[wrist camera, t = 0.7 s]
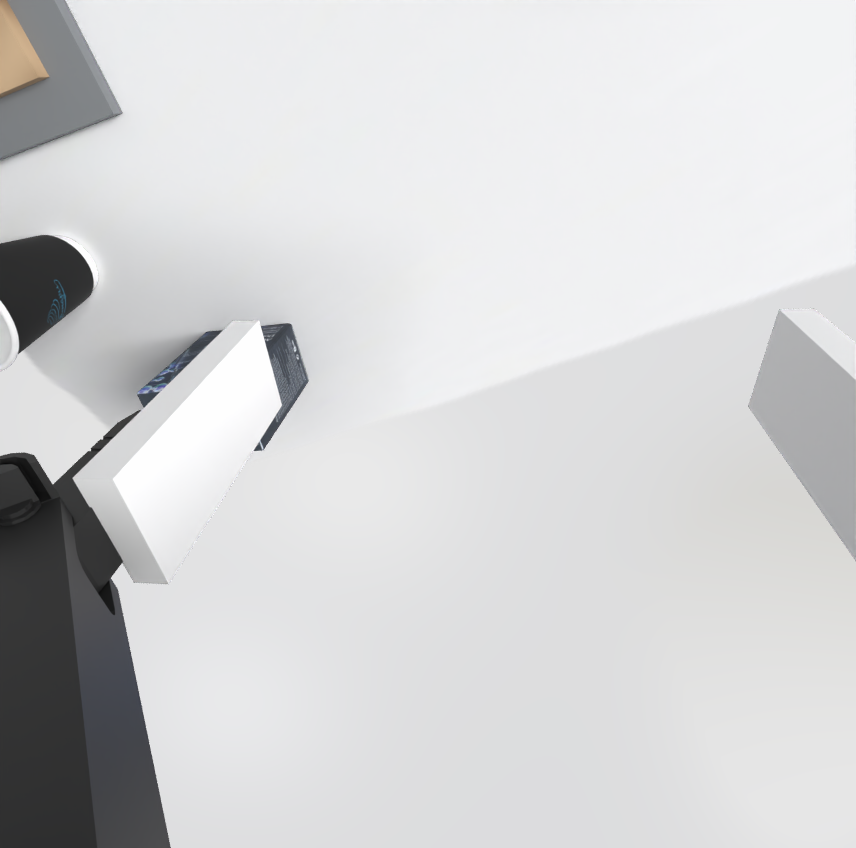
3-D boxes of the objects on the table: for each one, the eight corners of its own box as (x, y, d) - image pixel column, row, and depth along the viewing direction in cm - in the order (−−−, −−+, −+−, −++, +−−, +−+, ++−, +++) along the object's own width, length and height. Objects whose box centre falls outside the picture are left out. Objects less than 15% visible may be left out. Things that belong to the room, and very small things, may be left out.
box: (291, 320, 43) (238, 384, 35) (310, 380, 46) (265, 453, 38) (204, 329, 45) (132, 393, 36) (228, 387, 48) (167, 459, 39)
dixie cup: (134, 307, 44) (39, 369, 35) (53, 316, 46) (-58, 378, 37) (87, 207, 40) (-35, 249, 31) (-1, 221, 41) (-142, 265, 32)
